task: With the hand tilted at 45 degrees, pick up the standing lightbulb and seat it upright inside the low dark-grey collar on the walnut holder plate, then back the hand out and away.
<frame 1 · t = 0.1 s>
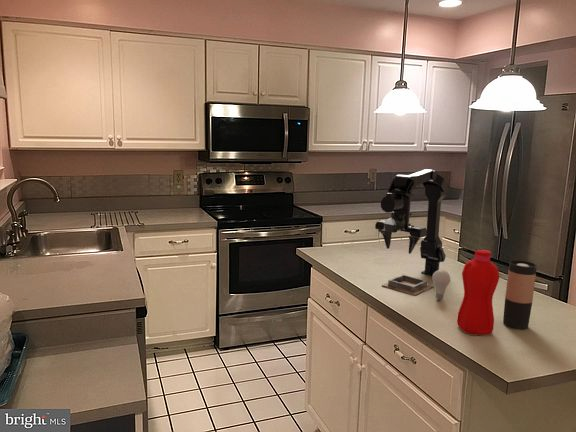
hand: (398, 251, 178), 15 cm above the worktop, tool pointing down, fingers open, 9 cm apart
water bottle: (472, 329, 146), on the worktop
lightbulb: (439, 300, 171), on the worktop
travel mug: (515, 325, 150), on the worktop
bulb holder: (407, 286, 183), on the worktop
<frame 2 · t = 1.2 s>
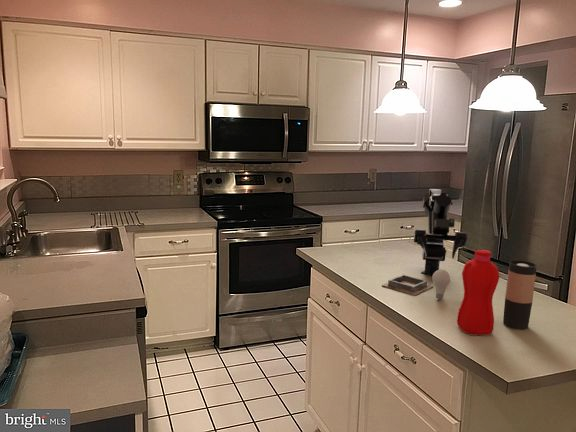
hand: (440, 257, 176), 13 cm above the worktop, tool tilted 45°, fingers open, 9 cm apart
nothing on the worktop moved.
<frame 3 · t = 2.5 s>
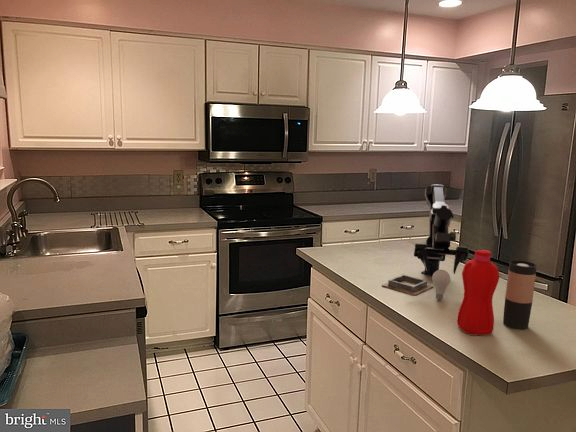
hand: (440, 272, 171), 10 cm above the worktop, tool tilted 45°, fingers open, 9 cm apart
nothing on the worktop moved.
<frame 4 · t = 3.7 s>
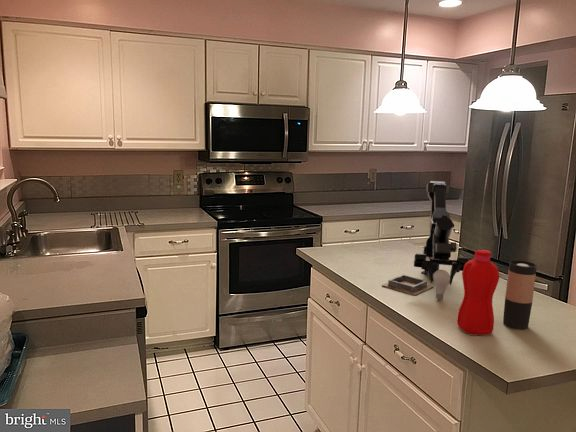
hand: (441, 283, 168), 7 cm above the worktop, tool tilted 45°, fingers closed on lightbulb, 6 cm apart
lightbulb: (439, 300, 171), on the worktop, touching gripper
everything else where it was.
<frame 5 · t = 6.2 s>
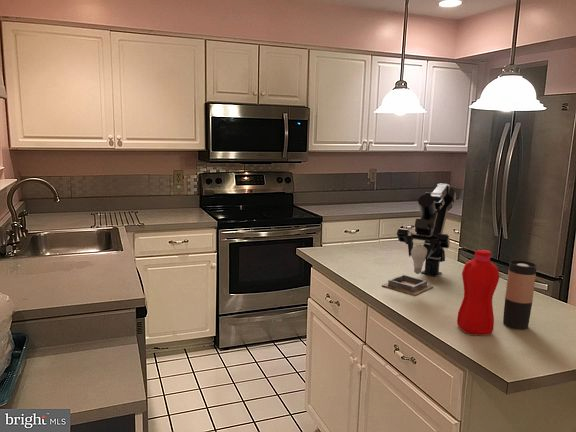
hand: (417, 257, 175), 13 cm above the worktop, tool tilted 45°, fingers closed on lightbulb, 6 cm apart
lightbulb: (417, 274, 178), point 7 cm above the worktop, touching gripper
everything else where it was.
when the fingers open (8 cm above the worktop, at t = 8.3 s): lightbulb drops 1 cm, resting on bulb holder.
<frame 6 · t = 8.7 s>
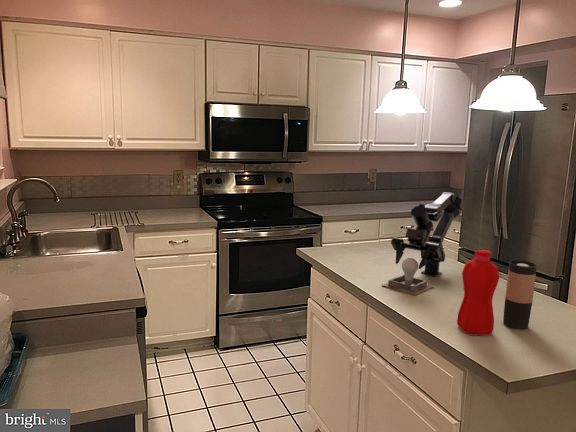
hand: (407, 266, 181), 9 cm above the worktop, tool tilted 45°, fingers open, 9 cm apart
lightbulb: (408, 286, 183), resting on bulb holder
everything else where it was.
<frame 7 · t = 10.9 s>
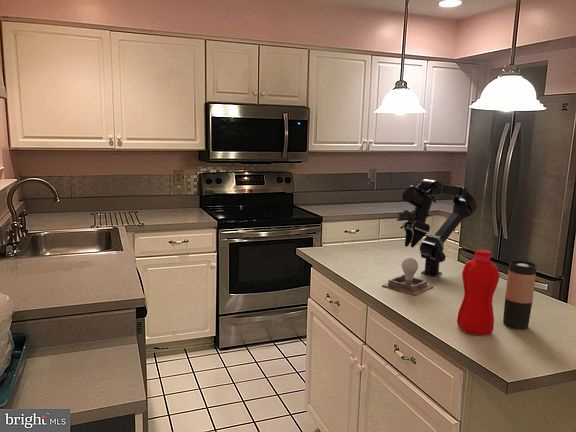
hand: (408, 246, 191), 13 cm above the worktop, tool tilted 20°, fingers open, 9 cm apart
nothing on the worktop moved.
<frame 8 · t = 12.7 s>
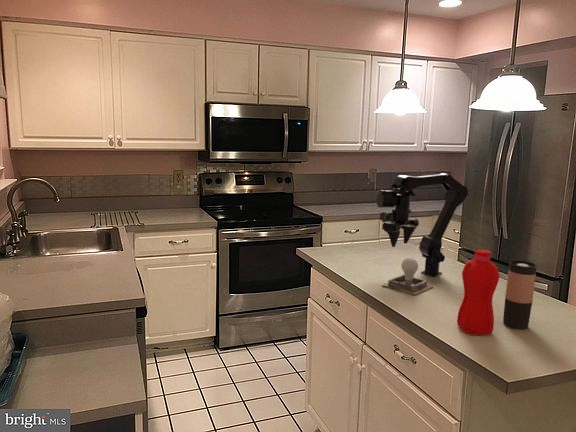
hand: (399, 245, 194), 13 cm above the worktop, tool pointing down, fingers open, 9 cm apart
nothing on the worktop moved.
at the end: lightbulb 0.4 cm off-centre on the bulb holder, point 0.3 cm above the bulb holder's base; lightbulb tilted 0°; the gripper is holding nothing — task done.
